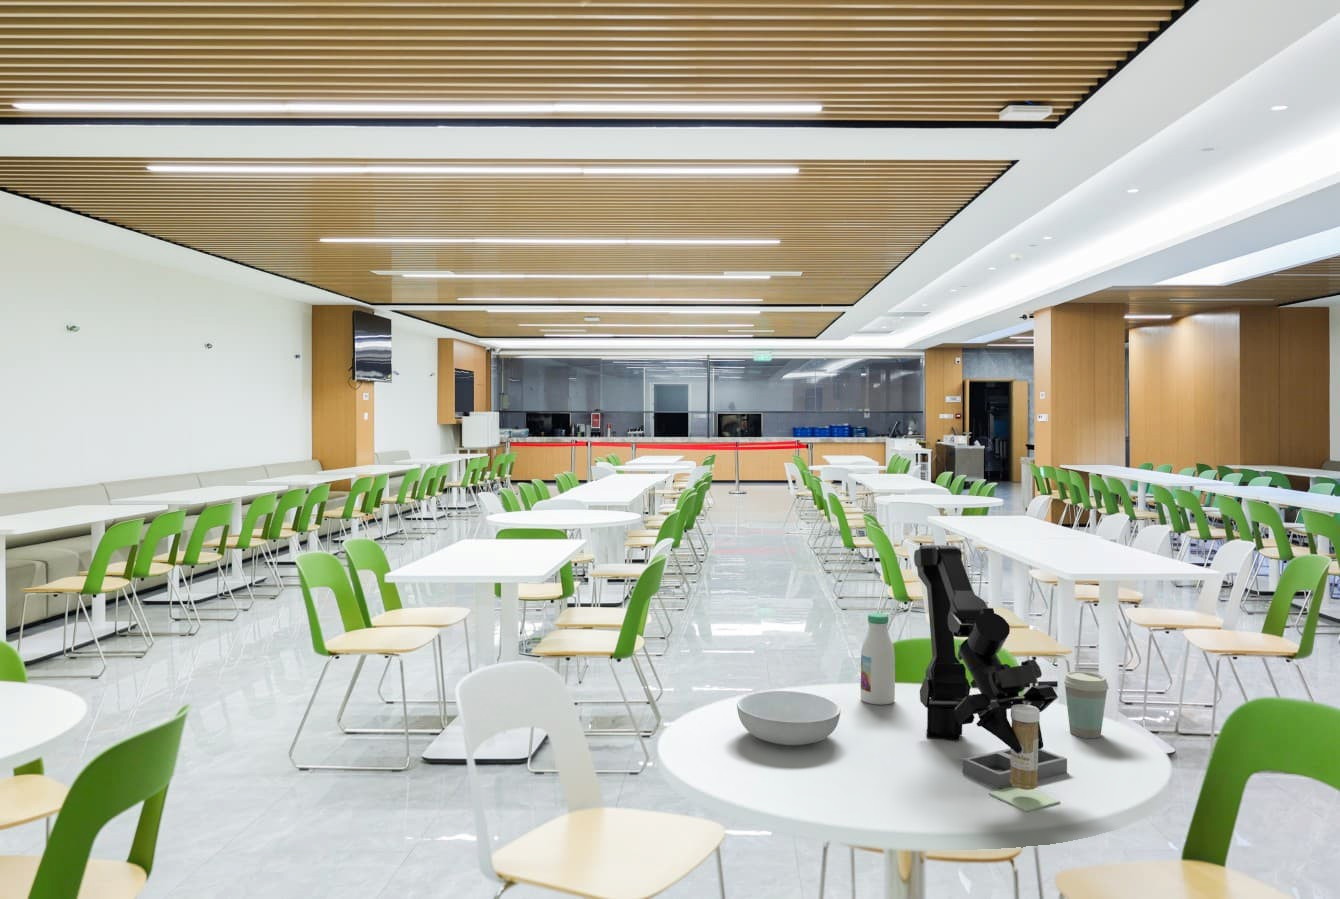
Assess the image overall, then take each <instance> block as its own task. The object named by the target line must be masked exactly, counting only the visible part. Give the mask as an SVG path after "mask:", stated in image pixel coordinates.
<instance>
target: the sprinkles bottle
mask: <svg viewBox="0 0 1340 899" xmlns="http://www.w3.org/2000/svg"><path fill="white" fill-rule="evenodd" d="M1040 713H1041V712H1040V711H1039V709H1038V708H1036V707H1034V706H1031V705H1025V704H1016V705H1013V706H1012V707H1011V709H1010V718H1011V719H1010V720H1011V727H1012V729H1013V731H1014V733H1015V735H1016V737H1017V739H1018V741H1019V743H1020V746H1021V748H1022V751H1021V752H1020V753H1017V752H1015V751H1014V750H1013V749H1012V748H1011V757H1010V764H1011V778H1010V783H1011V785H1013V786H1012V787H1016V788H1019V789H1024V790H1032V789H1034V790H1036V789H1037V788H1038V786H1039V783H1038V779H1037V769H1038V723H1040V717H1041V716H1040Z"/></svg>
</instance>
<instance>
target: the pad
mask: <svg viewBox="0 0 1340 899" xmlns="http://www.w3.org/2000/svg"><path fill="white" fill-rule="evenodd" d="M988 795H990V796H992V797H994V798H996V799H998V800H1001V801H1002V802H1005V803H1006V804H1009V805H1010V806H1013V807H1015V808H1017V809H1020V810H1021V811H1024V812H1026V813H1027V812H1031V811H1034V810H1039V809H1042V808H1047V807H1050V806H1055V805H1057V804H1060V803H1061V800H1059V799H1056V798H1054V797H1052V796H1049V795H1048V794H1045V793H1042V792H1040V791H1038V790H1036V789H1032V790H1024V789H1019V788H1016V787H1014V786H1009V787H1005V788H1001V789H998V790H995V791H991V792H989V793H988Z"/></svg>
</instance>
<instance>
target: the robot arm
mask: <svg viewBox="0 0 1340 899" xmlns="http://www.w3.org/2000/svg"><path fill="white" fill-rule="evenodd" d="M961 550H962V549H961V548H960V547H958V546H956V545H950V544H947V545H946V544H945V545H944V544H921V545H920V546H919V548H918V549H915V550H914V553H913V554H914V555H913V561H914V566H915V567H916V568H917V576H918V577H919V579H920V581H922V584H923V585H924V586H925V587H926V593H927V605H928V606H927V607H928V618H929V628H930V630H929V631H930V633H929V634H930V643H931V655H932V657H931V660H930V661H929V663H928V666H927V667H926V669H925V677H924V680H923V682H922V684H921V687H920V690H919V701H920V703H921V704H922V705H923V706H924V708H926V709H927V714H926V715H927V717H926V721H927V722H926V723H927V724H926V733H925V736H926V738H930V739H931V738H932V739H940V740H941V739H942V740H952V741H960V740H961V739H960V738H961V736H962V735H963V725H969V724H973V722H974V721H975V715H978V718H979V720H978V722H976V725H977V727H981V728H983V729H985V730H986V731H988V732H989V733H991V734H992V735H993V736H995V737H997V739H999V740H1000V741H1001V742H1003V743H1004V744H1005V745H1006V746H1008V747H1009V749H1010V748H1012V749H1013V750H1014V751H1015V752H1017V753H1020V752H1021V751H1022V748H1021V746H1020V743H1019V741H1018V739H1017V737H1016V735H1015V733H1014V731H1013V729H1012V724H1011V723H1010V721H1009V720H1008V712H1007V711H1008V710H1011V707H1012V706H1013V705H1016V704H1025V705H1031V706H1034V707H1036V708H1038V709H1039V711H1040V713H1041V712H1042V713H1043V711H1044V710H1046V709H1047V708H1048V707H1049V706H1050V705H1051V704H1053V703H1054V702H1055V700H1057V699H1058V698H1059V696H1058V695H1057V693H1056V691H1055V689H1054V688H1053V686H1051V685H1049V684H1041V685H1036V684H1038V679H1039V678H1041V677H1042V675H1043V674H1042V670H1041V667H1040V665H1039V664H1038V663H1037V661H1036V660H1035V659H1027V660H1025V661H1021V663H1020V665H1017V666H1016V665H1015V666H1011V665H1009V664H1008V663H1005V664H1004V663H1002V661H1001V660H1000V659H999V656H998V654H999V653H1000V652H1001V649H1002V648H1003V646H1004V644H1005V642H1006V640H1007V638H1008V636H1009V634H1010V631H1011V629H1010V625H1009V623H1008V622H1007V620H1006V619H1005V618H1004V617H1002V616H1001V615H999V614H997V613H995V610H994V608H993V607H988V604H987V603H986V602H985V600H984V599H982V598H981V597H979V596H977V594H976V593H975V592H974V590H973V586H972V584H971V581H970V578H969V577H968V573H967V571H966V568H965V565H964V562H963V559H962V556H963V555H962V554H963V553H962V551H961ZM955 637H956V638H966V639H965V640H963V642H962V643H961V644H959V645H958V652H957V654H956V649H955V648H956V647H955V646H956V645H955ZM961 660H963V662H964V663H963V662H962V663H961ZM965 665H966V666H965ZM966 668H967V670H968V671H969V674H970V676H971V677H972V681H969V679H968V677H967V674H966V673H967V671H966ZM1030 684H1035V685H1034V686H1031V687H1030V688H1029V689H1028V690H1026V692H1024V693H1023V694H1022V695H1020V694H1019V693H1021V692H1023V691H1024V690H1025V689H1026V687H1025V686H1026V685H1030ZM971 688H972V689H975V688H977V689H978V690H979V692H980V693H976V694H975V693H974V694H970V693H971V692H970V691H971ZM1043 748H1044V740H1043V735H1042V731H1041V724H1040V722H1039V723H1038V749H1043Z"/></svg>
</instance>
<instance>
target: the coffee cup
mask: <svg viewBox="0 0 1340 899" xmlns="http://www.w3.org/2000/svg"><path fill="white" fill-rule="evenodd" d="M1063 685H1064V687H1065V697H1066V698H1065V699H1066V708H1067V715H1068V725H1069V732H1070V734H1071V733H1072V735H1073V736H1075V735H1076V736H1075V737H1078V736H1080V737H1079V738H1083V737H1086V738H1085V739H1097V738H1096V737H1098V738H1100V737H1101V736H1102V728H1103V722H1104V714H1105V709H1106V699H1107V692H1108V690H1109V689H1110V688H1109V683H1108V682H1107V678H1106V677H1105V675H1102V674H1099V673H1094V672H1090V671H1088V672H1087V671H1070V672H1067V673H1066V675H1065V678H1063Z"/></svg>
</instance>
